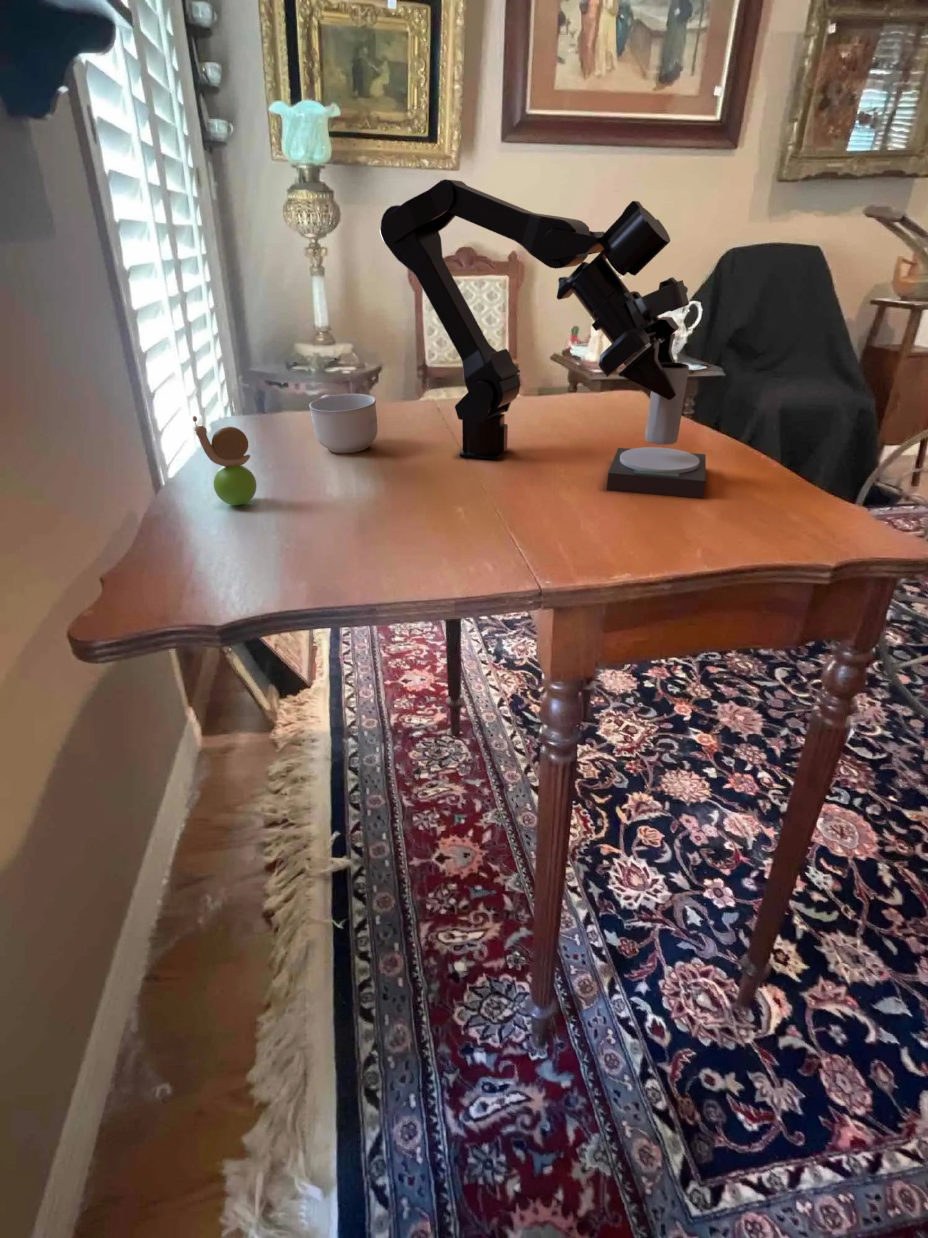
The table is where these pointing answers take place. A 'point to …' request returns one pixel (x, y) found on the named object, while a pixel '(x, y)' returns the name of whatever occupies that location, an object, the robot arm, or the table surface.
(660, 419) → the grey cylindrical piece
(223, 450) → the snail figurine
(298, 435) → the table surface
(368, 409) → the teacup
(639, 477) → the scale
